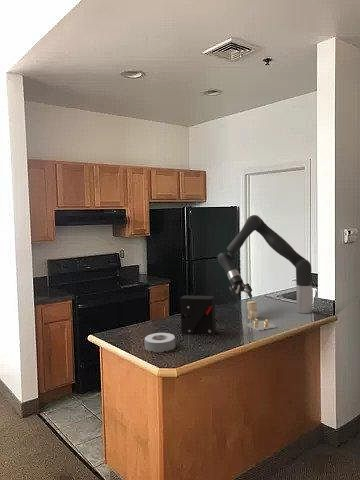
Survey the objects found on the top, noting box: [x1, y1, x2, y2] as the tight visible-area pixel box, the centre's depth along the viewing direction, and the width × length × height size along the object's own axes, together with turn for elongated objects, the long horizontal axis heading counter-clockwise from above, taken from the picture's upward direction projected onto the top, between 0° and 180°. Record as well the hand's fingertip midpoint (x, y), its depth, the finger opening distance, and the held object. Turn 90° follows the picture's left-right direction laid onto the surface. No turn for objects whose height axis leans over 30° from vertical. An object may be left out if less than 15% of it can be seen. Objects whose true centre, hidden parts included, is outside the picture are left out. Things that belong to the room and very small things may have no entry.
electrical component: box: [179, 295, 217, 336], centre depth 222 cm, size 18×10×20 cm, turn 71°
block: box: [246, 301, 258, 320], centre depth 245 cm, size 4×4×10 cm
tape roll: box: [144, 332, 176, 353], centre depth 201 cm, size 15×15×5 cm
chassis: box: [245, 318, 277, 331], centre depth 228 cm, size 12×12×4 cm
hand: (245, 298), depth 251 cm, fingers open, 8 cm apart
